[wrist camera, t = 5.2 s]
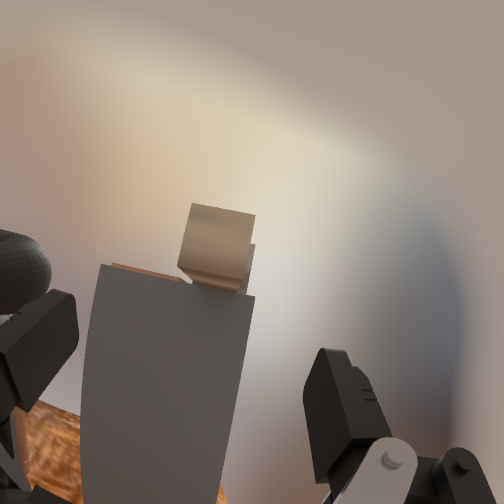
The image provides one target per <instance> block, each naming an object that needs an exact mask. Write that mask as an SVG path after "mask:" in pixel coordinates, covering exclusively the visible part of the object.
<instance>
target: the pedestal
mask: <svg viewBox="0 0 504 504" xmlns="http://www.w3.org/2000/svg"><path fill="white" fill-rule="evenodd" d="M254 302H255V296H249V295H244V294H239V293H233V292H228V291H223V290H218V289H213V288H208V287H203V286H198V285H193V284H189V283H187V282H185V281H184V280H183V279H181V278H179V277H174V276H169V275H164V274H160V273H155V272H151V271H146V270H142V269H138V268H133V267H129V266H125V265H120V264H116V263H112V265H111V266H109V265H105V264H101V266H100V271H99V275H98V280H97V285H96V290H95V295H94V300H93V305H92V311H91V317H90V323H89V329H88V336H87V344H86V351H85V360H84V369H83V381H82V394H81V414H80V461H81V480H82V492H83V502H84V504H216V500H217V495H218V490H219V485H220V480H221V475H222V470H223V465H224V460H225V455H226V450H227V445H228V440H229V435H230V429H231V424H232V419H233V414H234V409H235V404H236V398H237V393H238V387H239V383H240V378H241V372H242V367H243V361H244V356H245V351H246V345H247V340H248V335H249V329H250V324H251V318H252V313H253V307H254Z"/></svg>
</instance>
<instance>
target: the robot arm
mask: <svg viewBox="0 0 504 504" xmlns="http://www.w3.org/2000/svg"><path fill="white" fill-rule="evenodd" d="M50 281H51V265H50V260H49V258H48V256H47V254H46V252H45V250H44V249H43V248H42V247H41V245H40V244H38V243H37V242H36V241H35V240H33V239H32V238H29V237H28V236H25V235H21V234H18V233H14V232H9V231H6V230H1V229H0V504H73V503H71V502H68V501H66V500H64V499H62V498H60V497H58V496H56V495H54V494H52V493H50V492H49V491H47V490H45V489H43V488H41V487H39V486H38V485H36V484H35V486H34V488H33V490H32V489H31V487H30V484H29V482H28V479H27V477H26V475H25V474H27V472H28V471H29V468H30V466H29V456H28V450H27V439H26V427H25V412H27V413H29V411H30V410H31V408H32V407H33V405H34V404H35V403H36V401H37V400H38V398H39V397H40V396H41V394H42V393H43V391H44V390H45V389H46V387H47V386H48V385H49V383H50V382H51V381H52V379H53V378H54V377H55V375H56V374H57V373H58V371H59V370H60V368H61V367H62V366H63V365H64V363H65V362H66V361H67V360H68V358H69V357H70V356H71V355H72V353H73V352H74V351H75V349H76V347H77V344H78V340H79V329H78V321H77V312H76V302H75V298H74V296H73V295H72V294H69V293H66V292H63V291H60V290H57V289H52V290H50V291H49V292H48V293H46V292H47V290H48V288H49V284H50ZM10 314H13V315H12V316H11V317H10ZM303 404H304V409H305V416H306V421H307V428H308V434H309V441H310V447H311V453H312V460H313V467H314V473H315V480H316V484H319V483H320V484H322V483H329V484H330V489H331V491H330V492H329V493H328V494H327V495H326V497H325V498H324V500H323V501H322V502H321V504H496V501H495V499H494V496H493V494H492V491H491V489H490V486H489V484H488V482H487V480H486V477H485V475H484V473H483V471H482V468H481V466H480V464H479V462H478V460H477V458H476V457H475V456H474V455H473V454H472V453H471V452H470V451H468V450H466V449H464V448H459V447H457V448H452V449H450V450H448V451H447V452H446V453H445V454H444V455H443V456H442V457H441V458H440V459H435V458H427V457H419V456H416V453H415V452H414V450H413V449H412V448H411V447H410V446H409V445H408V444H407V443H406V442H404V441H402V440H400V439H397V438H393V437H392V434H391V432H390V429H389V427H388V424H387V422H386V419H385V417H384V415H383V412H382V410H381V407H380V405H379V403H378V402H377V398H376V396H375V393H374V392H373V389H372V386H371V384H370V382H369V379H368V378H367V376H366V375H365V374H364V373H363V372H362V371H361V370H360V369H359V368H358V367H352V365H351V363H350V360H349V358H348V355H347V353H346V352H345V351H344V350H336V349H327V348H321V349H320V350H319V352H318V354H317V356H316V359H315V361H314V364H313V366H312V368H311V371H310V374H309V376H308V378H307V380H306V383H305V386H304V391H303Z"/></svg>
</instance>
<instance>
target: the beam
mask: <svg viewBox="0 0 504 504" xmlns="http://www.w3.org/2000/svg"><path fill="white" fill-rule="evenodd" d="M254 220H255V215H252V214H247V213H242V212H237V211H232V210H227V209H222V208H216V207H210V206H205V205H199V204H194V203H192V205H191V209H190V213H189V217H188V221H187V225H186V229H185V233H184V237H183V242H182V246H181V250H180V255H179V259H178V264H177V266H178V267H179V268H180V269H181V270H182V271H183V272H184V273H185V274H186V275H187V276H188V277H189V278H191V279H192V280H193V282H192V284H193V285H198V286H203V287H208V288H213V289H218V290H223V291H228V292H233V293H239V294H244V295H246V293H247V287H248V282H249V276H250V271H251V265H252V259H253V254H254V249H255V244H250V242H251V237H252V231H253V226H254Z"/></svg>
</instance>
